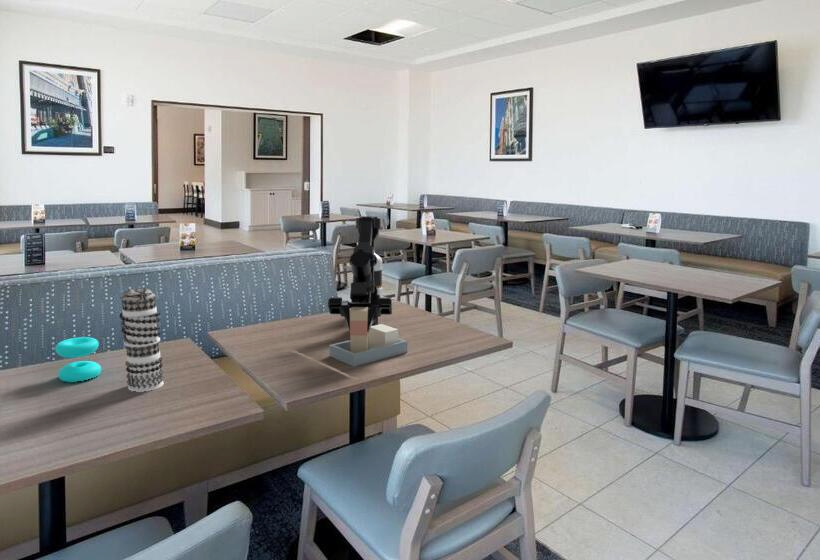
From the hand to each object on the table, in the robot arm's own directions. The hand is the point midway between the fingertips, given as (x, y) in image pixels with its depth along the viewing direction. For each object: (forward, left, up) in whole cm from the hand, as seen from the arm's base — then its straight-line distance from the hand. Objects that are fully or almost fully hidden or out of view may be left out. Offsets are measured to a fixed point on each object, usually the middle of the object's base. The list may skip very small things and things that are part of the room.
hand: (358, 330), depth 168 cm
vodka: (-37, -42, -9) cm, 57 cm away
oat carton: (-1, -1, -7) cm, 7 cm away
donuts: (+65, -37, -9) cm, 75 cm away
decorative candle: (+54, -19, -9) cm, 58 cm away
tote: (-4, -1, -9) cm, 10 cm away
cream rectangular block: (-10, -1, -8) cm, 13 cm away
